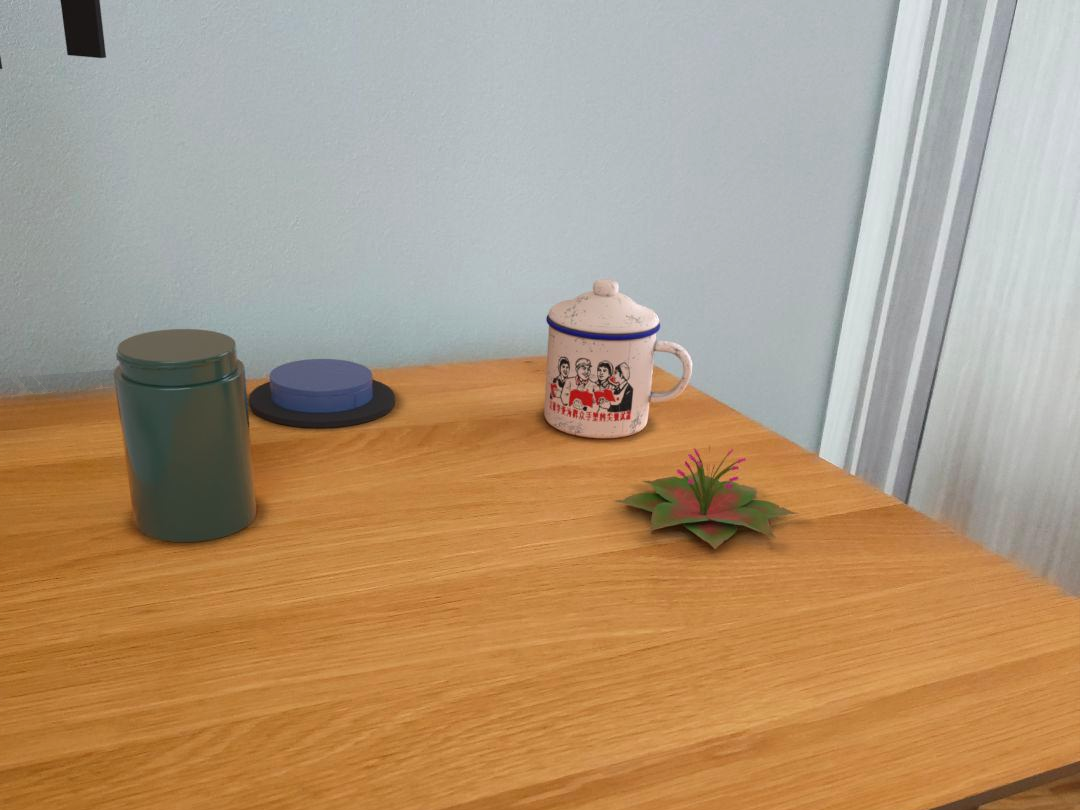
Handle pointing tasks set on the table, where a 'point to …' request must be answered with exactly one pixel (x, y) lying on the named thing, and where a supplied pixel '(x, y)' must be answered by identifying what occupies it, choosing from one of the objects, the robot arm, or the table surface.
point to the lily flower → (706, 504)
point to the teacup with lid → (604, 364)
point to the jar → (185, 434)
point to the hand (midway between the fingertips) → (37, 62)
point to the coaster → (277, 414)
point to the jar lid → (321, 385)
